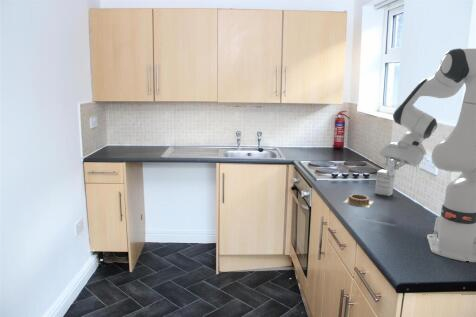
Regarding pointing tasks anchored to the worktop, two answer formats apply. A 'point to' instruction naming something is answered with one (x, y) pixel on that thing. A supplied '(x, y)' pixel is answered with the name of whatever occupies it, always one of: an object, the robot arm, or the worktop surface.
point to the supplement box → (384, 183)
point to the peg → (391, 168)
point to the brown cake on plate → (359, 200)
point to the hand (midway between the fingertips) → (390, 167)
